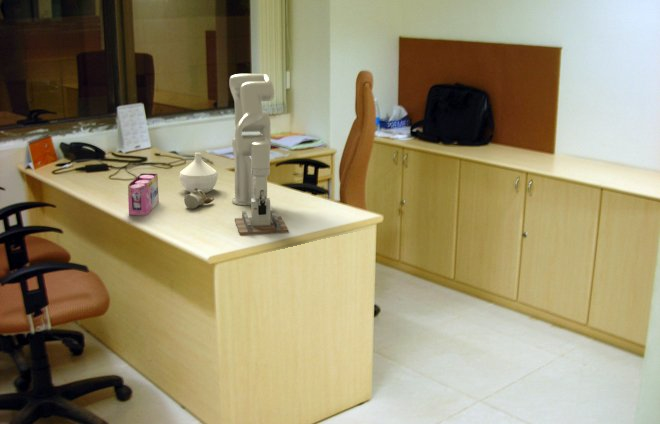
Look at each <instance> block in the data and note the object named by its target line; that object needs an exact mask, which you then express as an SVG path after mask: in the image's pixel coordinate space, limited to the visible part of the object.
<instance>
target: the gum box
mask: <svg viewBox="0 0 660 424" xmlns="http://www.w3.org/2000/svg"><path fill="white" fill-rule="evenodd" d="M158 179H159V178H158V173H144V172H141V173H140V174H139V175H138V176H137V177H135V178H134V179H133V180H132V181H130V183H129V184H128V185H127V189H128V190H127V196H128V197H127V198H128V199H127V202H128V215H129V216H147V215H148V214H149V213H150V212H151V211H152V210H153V209H154V208H155V207H156V206H157V204H159V203H160V199H159V180H158Z"/></svg>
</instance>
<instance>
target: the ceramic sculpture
mask: <svg viewBox="0 0 660 424" xmlns="http://www.w3.org/2000/svg"><path fill="white" fill-rule="evenodd" d="M214 200H215V198H210V197H207V196H206V193H204V192H203V191H201V190H198V189H197V188H195V189H194V190H192V192H191V193H190V192H189V193H188V194H186V195H185V197H184V199H183V201H184V205H185V207H186V208H188V209H191V210H194V209H196V208H197V207H200V206H203V205H208V204H211V203H212V202H214Z"/></svg>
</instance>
